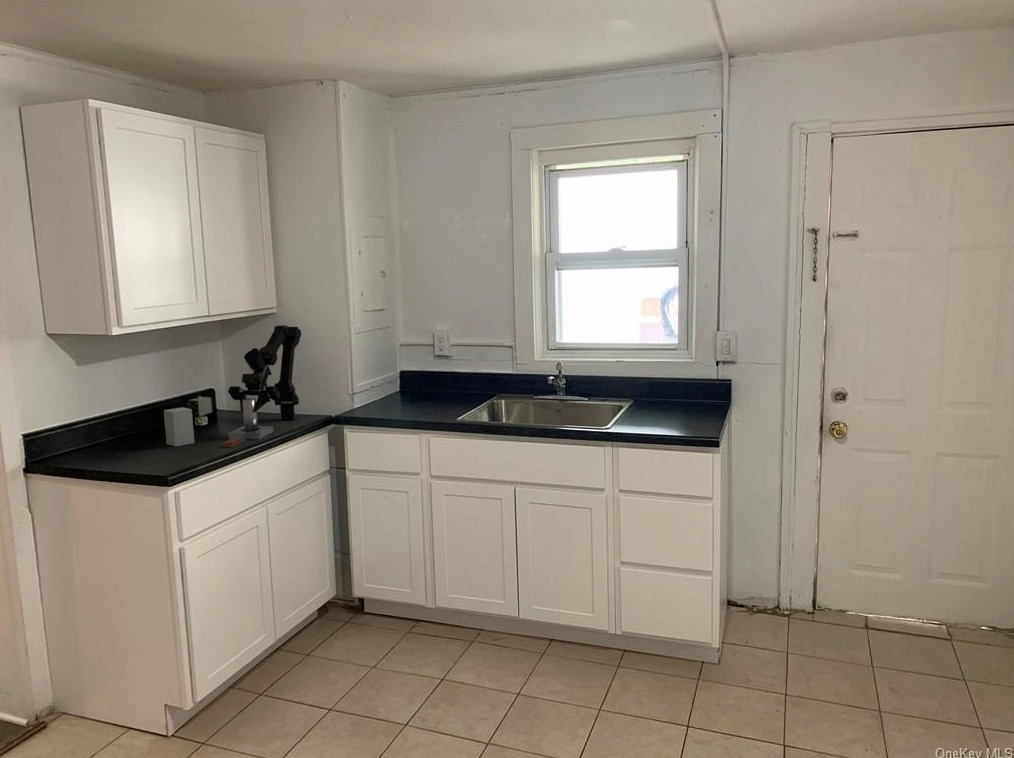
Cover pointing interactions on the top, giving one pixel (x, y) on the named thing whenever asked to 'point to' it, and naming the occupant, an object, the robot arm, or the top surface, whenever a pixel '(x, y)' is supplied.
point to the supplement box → (179, 426)
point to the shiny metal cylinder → (249, 413)
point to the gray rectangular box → (247, 434)
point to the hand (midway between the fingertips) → (248, 411)
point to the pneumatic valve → (201, 408)
